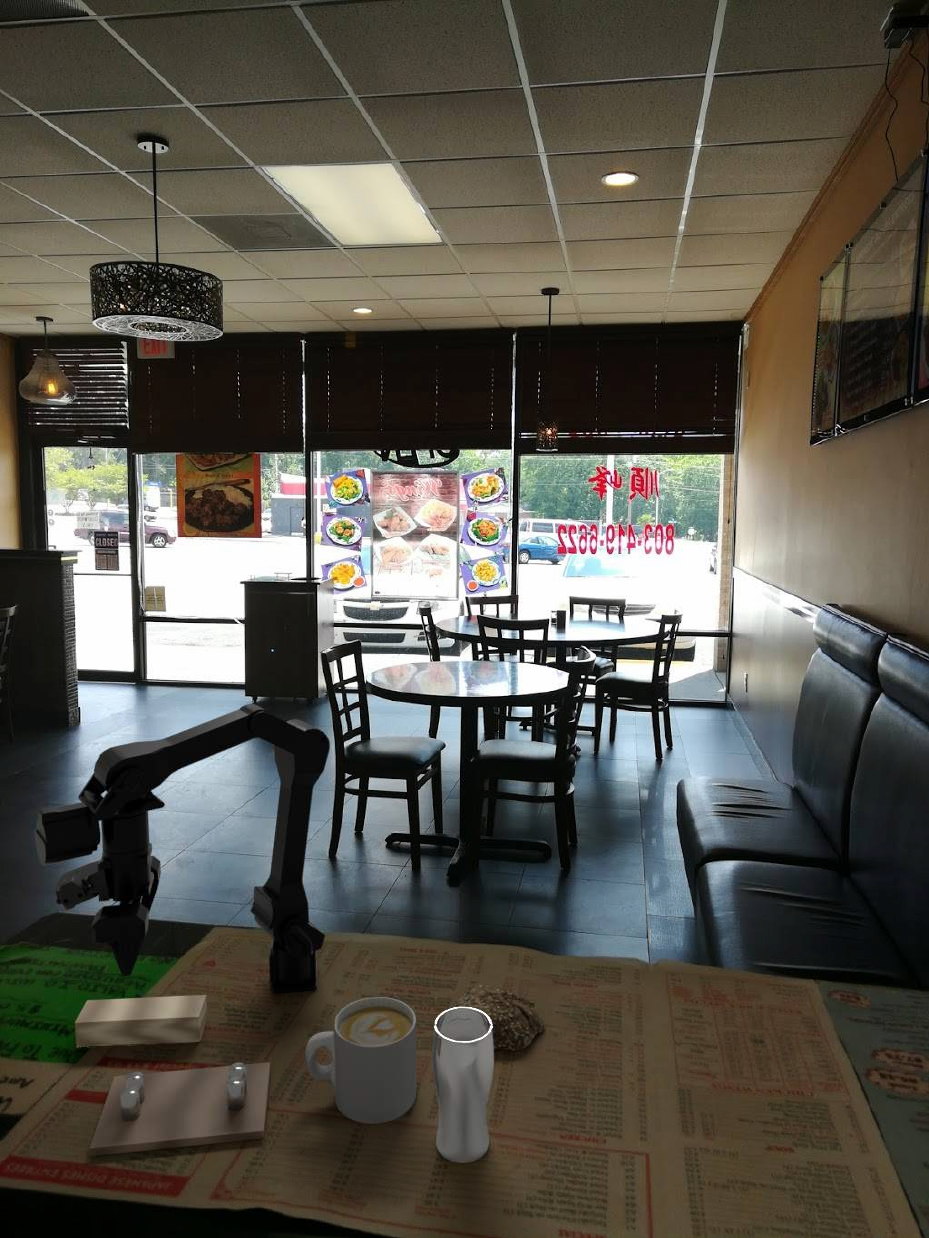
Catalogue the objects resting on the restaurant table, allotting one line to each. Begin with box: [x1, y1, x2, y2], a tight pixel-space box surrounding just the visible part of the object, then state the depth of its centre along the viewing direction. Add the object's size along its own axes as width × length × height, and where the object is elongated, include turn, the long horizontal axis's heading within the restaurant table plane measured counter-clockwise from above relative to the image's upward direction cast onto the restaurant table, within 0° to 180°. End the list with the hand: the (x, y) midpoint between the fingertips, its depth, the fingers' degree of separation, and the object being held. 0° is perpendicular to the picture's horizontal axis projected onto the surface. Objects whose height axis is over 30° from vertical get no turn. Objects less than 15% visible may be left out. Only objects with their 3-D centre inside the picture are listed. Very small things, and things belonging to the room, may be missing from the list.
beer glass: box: [431, 1007, 495, 1164], centre depth 100 cm, size 7×7×15 cm
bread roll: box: [454, 984, 546, 1052], centre depth 123 cm, size 13×12×5 cm
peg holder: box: [89, 1061, 271, 1157], centre depth 106 cm, size 19×12×4 cm, turn 99°
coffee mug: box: [304, 996, 417, 1125], centre depth 109 cm, size 13×10×10 cm
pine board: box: [74, 994, 208, 1049], centre depth 120 cm, size 16×5×4 cm, turn 95°
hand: (131, 956), depth 117 cm, fingers open, 9 cm apart
